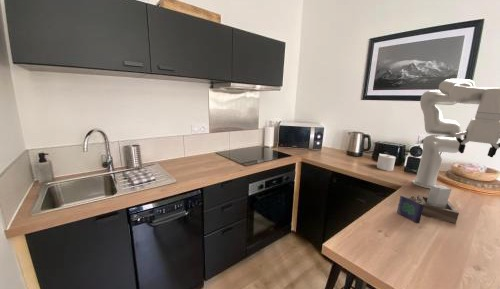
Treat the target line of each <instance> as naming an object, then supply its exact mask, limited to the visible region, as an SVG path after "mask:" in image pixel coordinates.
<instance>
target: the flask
mask: <svg viewBox="0 0 500 289" xmlns="http://www.w3.org/2000/svg"><path fill="white" fill-rule="evenodd" d="M416 199H417V197H416V195H415V194H414V195H413V194H412V195H410V196H407V195H404V194H401V195H399V201H398V204H397V209H396V213H397V214H398V215H399V216H402V217H403V218H405V219H408V220H409V221H411V222H413V223H414V224H420V223H421V219H422V216H423V215H422V211H423V207H424V204H423V203H422V202H421V201H418V200H416Z"/></svg>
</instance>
